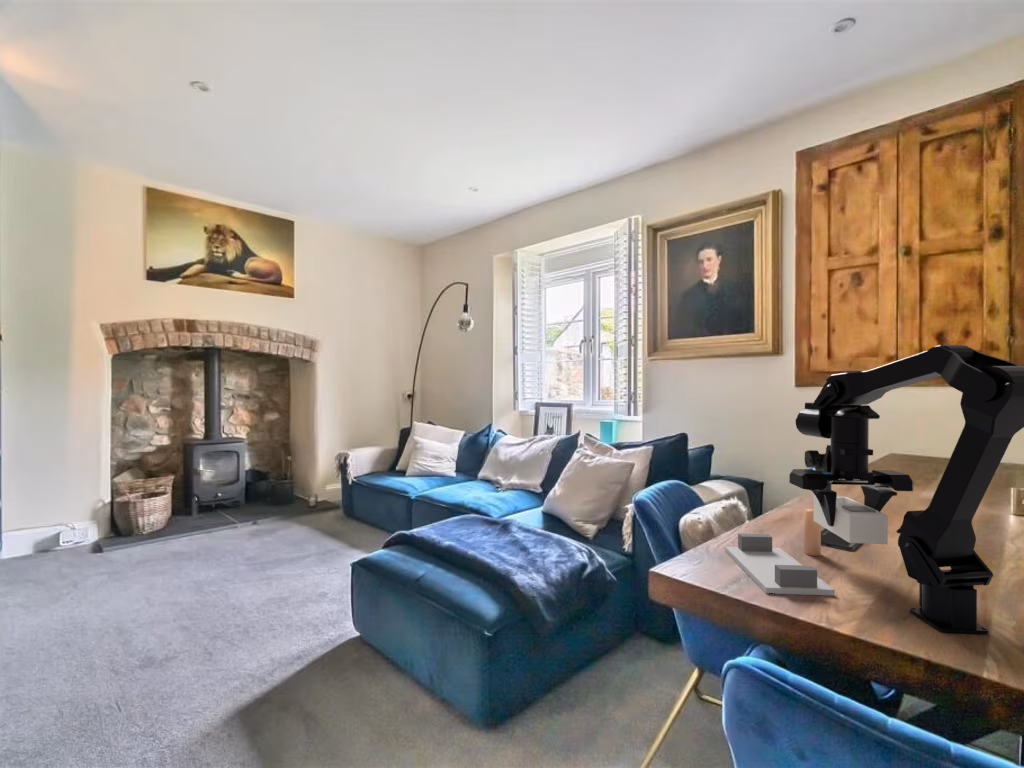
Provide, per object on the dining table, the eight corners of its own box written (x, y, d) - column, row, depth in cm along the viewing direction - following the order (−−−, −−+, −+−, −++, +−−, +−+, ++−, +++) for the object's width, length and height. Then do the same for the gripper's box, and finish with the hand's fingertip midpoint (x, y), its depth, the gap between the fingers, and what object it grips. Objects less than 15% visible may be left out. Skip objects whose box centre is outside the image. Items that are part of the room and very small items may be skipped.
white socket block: (887, 544, 82) (887, 513, 82) (849, 542, 83) (849, 512, 83) (846, 521, 95) (846, 495, 95) (813, 520, 96) (813, 494, 96)
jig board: (834, 595, 81) (834, 571, 80) (766, 593, 82) (766, 569, 82) (779, 552, 100) (779, 533, 100) (724, 551, 101) (724, 532, 101)
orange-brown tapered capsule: (823, 556, 98) (823, 512, 98) (808, 555, 98) (808, 512, 98) (815, 551, 101) (815, 508, 101) (800, 550, 101) (800, 508, 101)
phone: (869, 532, 111) (851, 548, 101) (869, 537, 111) (851, 553, 101) (829, 524, 117) (809, 538, 107) (829, 529, 117) (809, 543, 107)
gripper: (874, 436, 96) (874, 514, 96) (776, 436, 98) (776, 513, 98) (915, 444, 85) (915, 532, 85) (804, 443, 86) (804, 530, 87)
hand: (848, 526), depth 89 cm, fingers closed on white socket block, 6 cm apart
